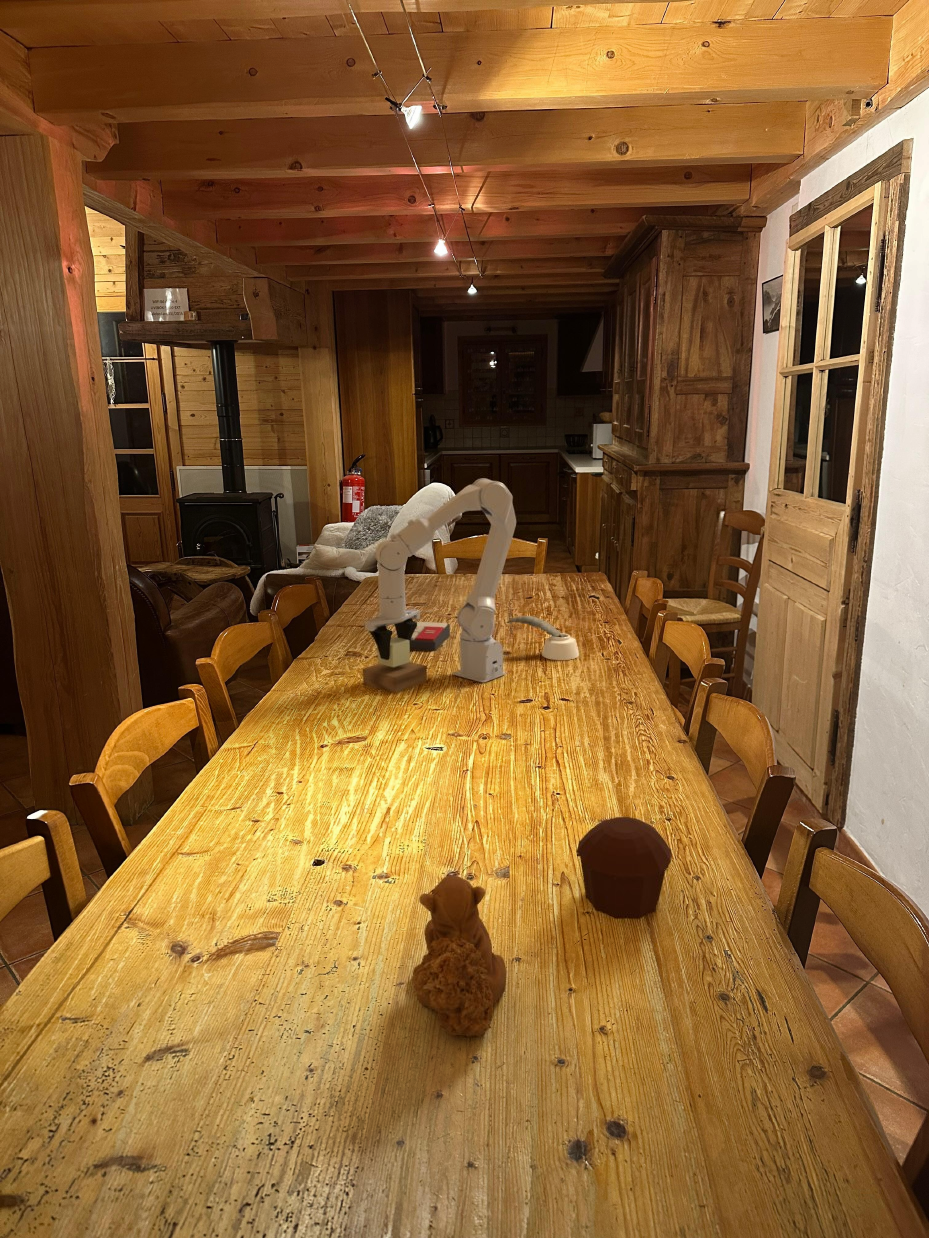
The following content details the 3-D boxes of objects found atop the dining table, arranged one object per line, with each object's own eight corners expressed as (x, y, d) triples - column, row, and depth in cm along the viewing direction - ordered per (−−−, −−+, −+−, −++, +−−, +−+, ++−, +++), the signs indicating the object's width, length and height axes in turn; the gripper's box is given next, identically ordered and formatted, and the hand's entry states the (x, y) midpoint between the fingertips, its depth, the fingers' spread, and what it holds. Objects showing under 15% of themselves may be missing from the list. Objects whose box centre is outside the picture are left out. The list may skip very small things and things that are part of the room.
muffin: (607, 864, 111) (609, 795, 109) (685, 893, 104) (689, 820, 102) (558, 904, 102) (559, 830, 100) (639, 939, 96) (643, 860, 93)
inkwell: (582, 660, 201) (582, 620, 198) (507, 661, 201) (506, 621, 198) (576, 649, 210) (577, 611, 207) (504, 650, 210) (504, 612, 207)
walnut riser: (427, 682, 187) (426, 665, 186) (396, 695, 180) (395, 677, 179) (394, 674, 193) (393, 658, 192) (363, 686, 186) (362, 668, 185)
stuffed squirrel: (504, 961, 92) (504, 853, 89) (515, 1057, 78) (515, 934, 75) (413, 964, 92) (410, 856, 89) (408, 1061, 78) (404, 938, 75)
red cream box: (393, 636, 212) (410, 619, 226) (394, 652, 213) (411, 634, 227) (435, 638, 209) (449, 621, 223) (435, 655, 210) (450, 636, 224)
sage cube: (410, 662, 185) (409, 640, 184) (393, 667, 182) (392, 645, 181) (394, 657, 189) (393, 636, 187) (378, 662, 185) (377, 641, 184)
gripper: (403, 588, 189) (405, 645, 193) (354, 599, 179) (357, 660, 182) (425, 592, 185) (427, 651, 188) (376, 603, 174) (379, 666, 177)
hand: (394, 656), depth 185 cm, fingers closed on sage cube, 5 cm apart
